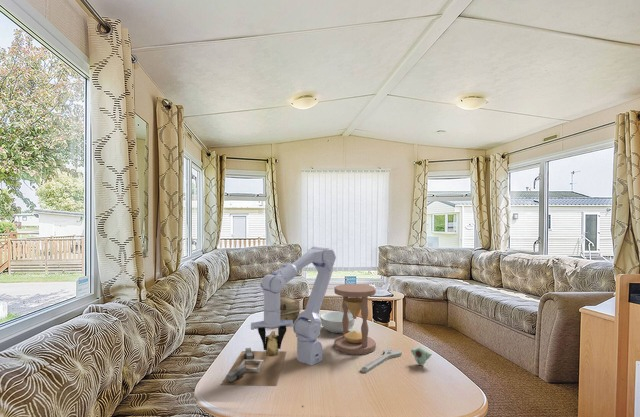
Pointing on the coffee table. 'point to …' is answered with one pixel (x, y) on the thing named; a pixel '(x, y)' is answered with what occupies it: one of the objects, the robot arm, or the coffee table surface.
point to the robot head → (420, 355)
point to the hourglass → (354, 339)
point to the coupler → (272, 344)
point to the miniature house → (289, 309)
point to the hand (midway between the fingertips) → (272, 348)
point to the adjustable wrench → (381, 359)
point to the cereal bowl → (335, 321)
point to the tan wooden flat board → (255, 369)
